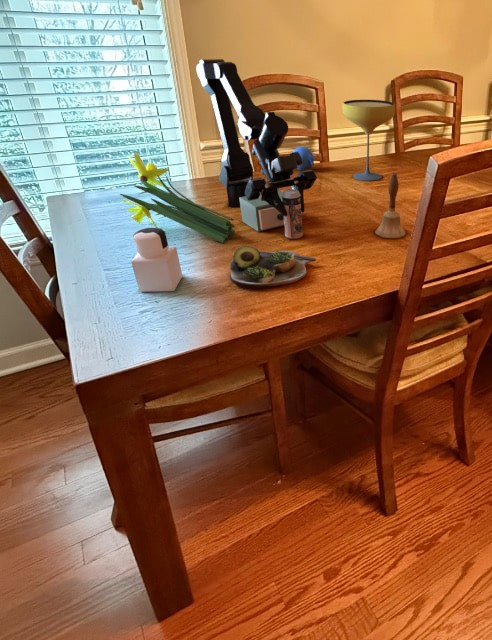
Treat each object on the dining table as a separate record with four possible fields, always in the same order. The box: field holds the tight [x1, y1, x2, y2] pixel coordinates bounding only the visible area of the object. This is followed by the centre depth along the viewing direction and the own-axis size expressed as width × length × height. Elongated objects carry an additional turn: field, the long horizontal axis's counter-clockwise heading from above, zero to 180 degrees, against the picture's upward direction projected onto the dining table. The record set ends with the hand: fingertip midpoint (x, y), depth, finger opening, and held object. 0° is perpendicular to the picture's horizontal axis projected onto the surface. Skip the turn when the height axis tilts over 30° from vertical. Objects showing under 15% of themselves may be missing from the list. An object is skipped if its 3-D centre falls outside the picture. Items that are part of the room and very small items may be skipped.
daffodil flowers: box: [117, 150, 236, 244], centre depth 122 cm, size 17×15×35 cm
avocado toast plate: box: [229, 245, 317, 289], centre depth 105 cm, size 19×18×5 cm
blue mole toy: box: [292, 146, 319, 171], centre depth 178 cm, size 12×12×8 cm
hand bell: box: [374, 172, 406, 240], centre depth 122 cm, size 8×8×16 cm
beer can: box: [282, 188, 304, 240], centre depth 120 cm, size 5×5×12 cm
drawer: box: [258, 206, 284, 230], centre depth 129 cm, size 10×11×5 cm
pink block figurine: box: [130, 227, 183, 293], centre depth 96 cm, size 7×7×12 cm
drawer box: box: [239, 189, 284, 233], centre depth 130 cm, size 10×12×7 cm
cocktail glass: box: [342, 99, 396, 182], centre depth 166 cm, size 18×18×25 cm
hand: (295, 213), depth 119 cm, fingers closed on beer can, 5 cm apart
